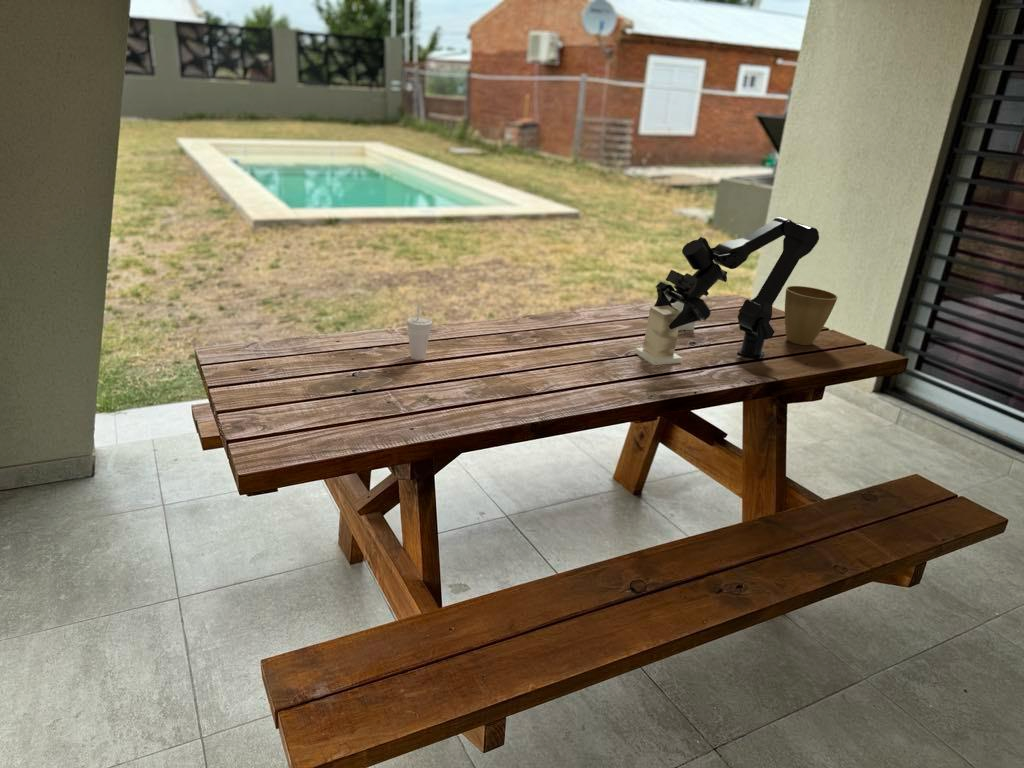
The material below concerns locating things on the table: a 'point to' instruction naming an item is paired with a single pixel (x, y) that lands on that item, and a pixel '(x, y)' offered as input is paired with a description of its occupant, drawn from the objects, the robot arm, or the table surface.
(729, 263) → the robot arm
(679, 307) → the medicine bottle
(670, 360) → the top slab
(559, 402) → the table surface
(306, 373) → the table surface
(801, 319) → the plant pot
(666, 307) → the beige rectangular block
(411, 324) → the smoothie
